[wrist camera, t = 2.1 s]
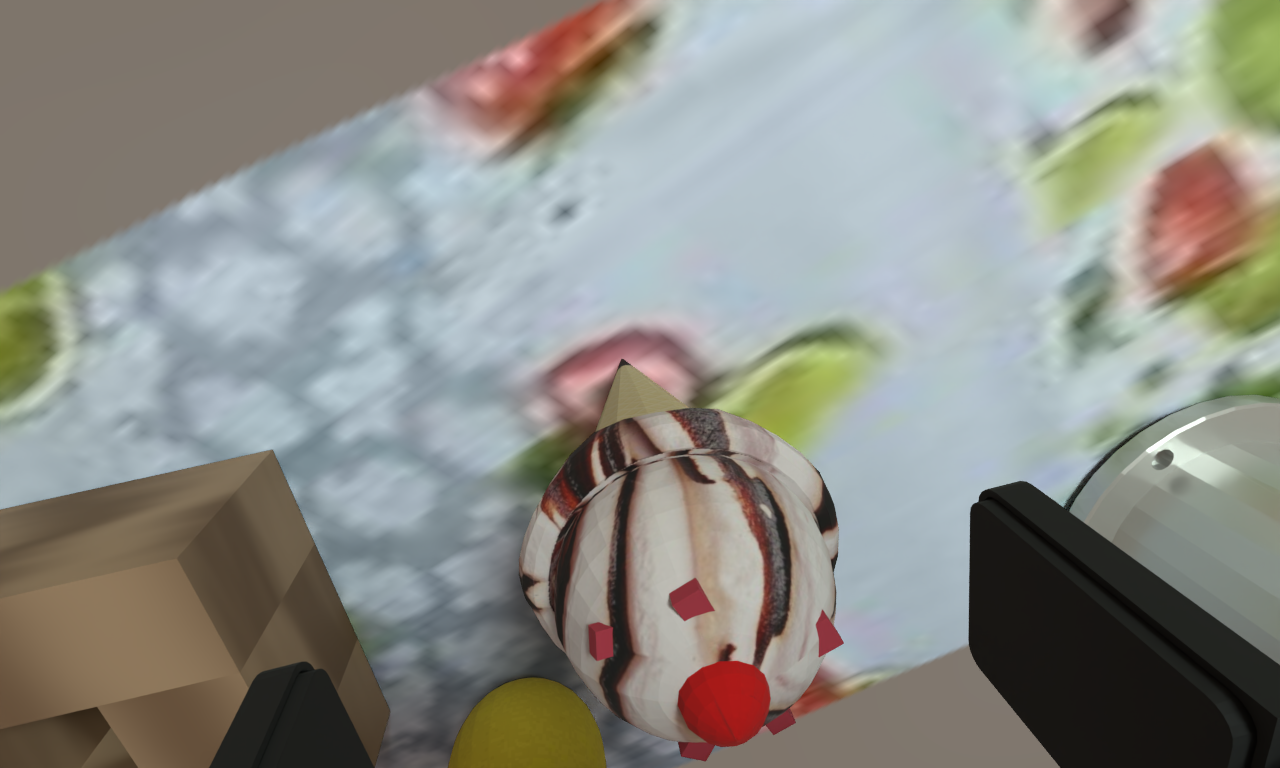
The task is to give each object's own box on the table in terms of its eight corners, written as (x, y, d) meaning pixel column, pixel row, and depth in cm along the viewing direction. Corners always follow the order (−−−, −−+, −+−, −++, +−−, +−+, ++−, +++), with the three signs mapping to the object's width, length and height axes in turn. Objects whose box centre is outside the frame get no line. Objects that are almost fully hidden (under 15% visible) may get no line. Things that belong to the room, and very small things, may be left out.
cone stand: (272, 449, 22) (176, 558, 16) (390, 711, 26) (347, 866, 21) (-99, 531, 21) (-329, 672, 16) (85, 784, 26) (-43, 964, 20)
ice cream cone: (501, 336, 21) (409, 713, 8) (650, 239, 21) (841, 455, 7) (598, 463, 24) (663, 942, 10) (735, 378, 23) (1011, 755, 9)
